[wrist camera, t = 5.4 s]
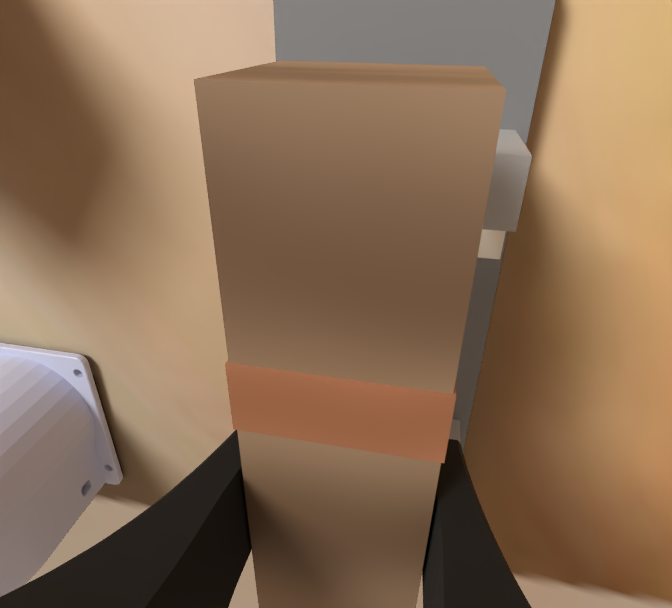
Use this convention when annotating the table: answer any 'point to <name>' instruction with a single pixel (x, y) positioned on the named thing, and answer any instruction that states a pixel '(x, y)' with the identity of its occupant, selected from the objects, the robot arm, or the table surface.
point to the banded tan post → (345, 306)
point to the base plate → (444, 49)
